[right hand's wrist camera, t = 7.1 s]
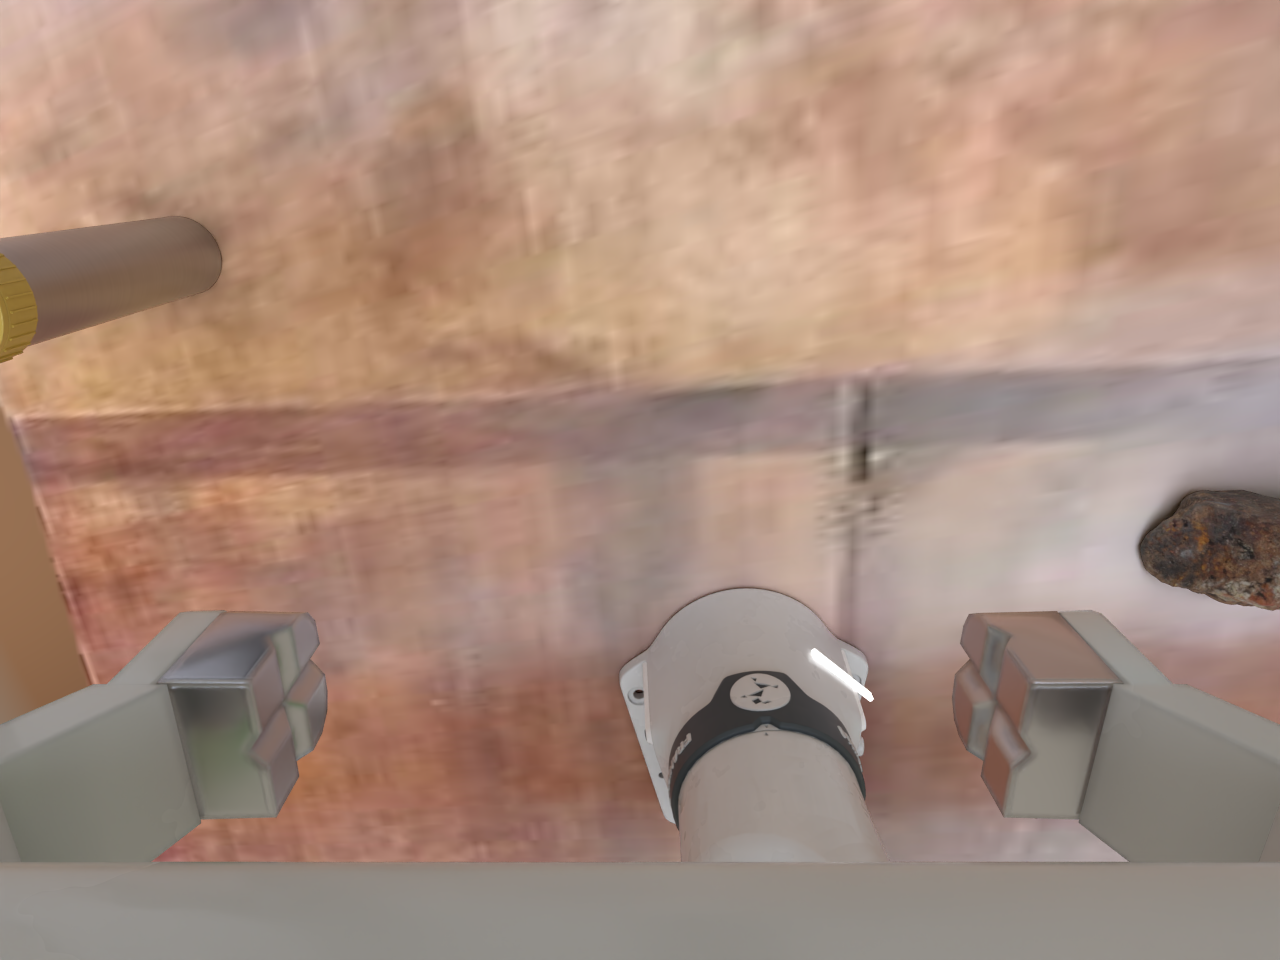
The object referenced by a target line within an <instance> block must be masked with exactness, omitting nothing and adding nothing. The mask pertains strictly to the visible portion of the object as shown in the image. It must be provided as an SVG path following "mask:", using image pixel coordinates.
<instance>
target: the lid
mask: <svg viewBox="0 0 1280 960" xmlns="http://www.w3.org/2000/svg"><path fill="white" fill-rule="evenodd" d="M37 322H38V312H37V305H36V301H35V297H34V294H33V291H32V290H31V287H30V285H29V283H28V282H27V280H26V278H25V277H24V276H23V274H22V273H21V272H20V270H19V269H18V268H17V266H16V265H15V264H13V263H12V262H11V261H10V260H9V259H8V258H6V257H5V256H4V254H2V253H0V363H2V362H5V361H9V360H12V359H13V358H12V357H14V356H16V355H19V354H22V353H23V350H24V349H25V348H26V347H27V346H28V345H30V344H31V343H30V342H31V340H32V338H33V337H34V334H36V332H35V331H36V328H37Z"/></svg>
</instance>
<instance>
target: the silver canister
mask: <svg viewBox="0 0 1280 960" xmlns="http://www.w3.org/2000/svg"><path fill="white" fill-rule="evenodd" d="M0 253H2V254H4V256H5V257H6V258H8V259H9V260H10V261H11V262H12V263H13V264H15V265H16V266H17V268H18V269H19V270H20V272H21V273H22V274H23V276H24V277H25V278H26V280H27V282H28V283H29V285H30V287H31V290H32V291H33V294H34V297H35V301H36V305H37V312H38V322H37V328H36V331H35V332H36V334H34V337H33V338H32V340H31V342H30V343H31V344H30V345H28V346H31V345H34V344H37V343H40V342H43V341H47V340H50V339H53V338H56V337H60V336H63V335H66V334H69V333H73V332H76V331H79V330H82V329H85V328H89V327H92V326H95V325H98V324H102V323H105V322H108V321H111V320H115V319H118V318H121V317H124V316H127V315H131V314H134V313H137V312H140V311H144V310H147V309H150V308H153V307H156V306H160V305H163V304H166V303H169V302H173V301H176V300H179V299H182V298H186V297H189V296H192V295H195V294H198V293H202V292H204V291H206V290H208V289H209V288H210V287H212V286H213V285H214V284H215V282H216V281H217V279H218V277H219V275H220V271H221V265H222V262H221V254H220V250H219V247H218V245H217V243H216V241H215V239H214V238H213V237H212V235H211V234H210V233H209V232H208V231H207V230H206V229H205V228H204V227H203V226H201V225H200V224H199V223H197V222H195V221H193V220H191V219H188V218H185V217H180V216H171V217H163V218H155V219H148V220H140V221H132V222H124V223H116V224H108V225H101V226H93V227H85V228H77V229H69V230H61V231H54V232H46V233H38V234H30V235H22V236H15V237H7V238H0Z"/></svg>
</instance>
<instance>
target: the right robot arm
mask: <svg viewBox="0 0 1280 960" xmlns="http://www.w3.org/2000/svg"><path fill="white" fill-rule="evenodd" d="M319 644H320V642H319V637H318V633H317V628H316V623H315V620H314V619H313V618H312V617H311V615H310V614H309V613H308V612H259V611H228V612H227V611H225V610H211V611H187V612H181V613H179V614H178V615H177V616H176V617H175V618H174V619H173V620H172V621H171V622H170V623H169V624H168V625H167V626H166V627H165V628H164V629H163V630H162V631H161V632H160V633H159V634H158V635H156V636H155V637H154V638H153V639H152V640H151V641H150V642H149V643H148V644H147V645H146V646H145V647H144V648H143V649H142V650H141V651H140V652H139V653H138V654H137V655H136V656H135V657H134V658H133V659H132V660H131V661H130V662H129V663H128V664H127V665H126V666H125V667H124V668H123V669H122V670H121V671H120V672H119V673H118V674H117V675H116V676H115V677H114V678H113V679H112V680H111V681H110V682H109V683H108V684H93V685H91V686H88V687H86V688H84V689H81V690H79V691H77V692H75V693H72V694H70V695H67V696H65V697H63V698H61V699H58V700H56V701H54V702H51V703H49V704H47V705H44V706H42V707H40V708H37V709H35V710H33V711H30V712H28V713H26V714H24V715H21V716H19V717H17V718H14V719H12V720H10V721H7V722H5V723H3V724H0V960H1280V725H1279V724H1277V723H1275V722H1272V721H1270V720H1268V719H1266V718H1263V717H1261V716H1259V715H1256V714H1254V713H1252V712H1249V711H1247V710H1245V709H1242V708H1240V707H1238V706H1236V705H1233V704H1231V703H1229V702H1226V701H1224V700H1222V699H1219V698H1217V697H1215V696H1212V695H1210V694H1208V693H1206V692H1203V691H1201V690H1199V689H1196V688H1194V687H1192V686H1189V685H1187V684H1172V683H1171V682H1170V681H1169V680H1168V679H1167V678H1166V677H1165V676H1164V675H1163V674H1162V673H1161V672H1160V671H1159V670H1158V669H1157V668H1156V667H1155V666H1154V665H1153V664H1152V663H1151V662H1150V661H1149V660H1148V659H1147V658H1146V657H1145V656H1144V655H1143V654H1142V653H1141V652H1140V651H1139V650H1138V649H1137V648H1136V647H1135V646H1134V645H1133V644H1132V643H1131V642H1130V641H1129V640H1128V639H1127V638H1126V637H1125V636H1124V635H1123V634H1122V633H1121V632H1120V631H1119V630H1118V629H1117V628H1116V627H1115V626H1114V625H1113V624H1112V623H1110V622H1109V621H1108V620H1107V619H1106V618H1105V617H1104V616H1103V615H1102V614H1101V613H1098V612H1095V611H1092V610H1078V611H1045V612H1004V613H975V614H969V615H968V617H967V619H966V621H965V624H964V626H963V631H962V637H961V642H960V644H961V646H962V647H963V649H964V650H965V652H966V653H967V655H968V657H969V658H970V659H969V661H968V662H967V663H966V664H965V665H964V666H963V667H962V668H961V669H960V670H959V671H958V672H957V673H956V674H955V679H954V687H953V695H952V702H953V713H954V721H955V724H956V727H957V731H958V734H959V737H960V738H961V740H962V742H963V744H964V746H965V748H966V750H967V751H969V752H970V753H972V754H973V755H975V756H977V757H978V758H980V759H981V760H983V766H982V772H981V777H982V779H983V781H984V783H985V785H986V786H987V788H988V790H989V792H990V793H991V795H992V797H993V799H994V801H995V802H996V804H997V806H998V808H999V810H1000V811H1001V813H1002V815H1003V817H1011V818H1048V819H1079V823H1080V824H1081V825H1082V826H1084V827H1085V828H1086V829H1088V830H1089V831H1090V832H1091V833H1093V834H1094V835H1095V836H1097V837H1098V838H1099V839H1100V840H1102V841H1103V842H1104V843H1106V844H1107V845H1108V846H1110V847H1111V848H1112V849H1113V850H1115V851H1116V852H1117V853H1119V854H1120V855H1121V856H1122V857H1124V858H1125V859H1126V860H1128V861H1129V862H891V861H890V859H889V857H888V855H887V853H886V851H885V849H884V847H883V845H882V842H881V840H880V838H879V836H878V833H877V831H876V829H875V826H874V824H873V822H872V819H871V817H870V814H869V811H868V809H867V806H866V804H865V796H866V793H865V783H864V779H863V775H862V772H863V771H862V766H861V762H860V759H859V756H862V755H863V753H864V740H863V738H862V737H861V732H862V731H864V730H865V729H866V720H865V716H864V713H863V709H862V706H861V703H860V700H861V697H862V696H864V697H865V698H866V699H868V700H869V701H870V702H871V701H872V700H873V697H872V694H871V692H870V691H868V690H867V689H866V688H864V685H865V682H866V678H867V674H868V664H867V660H866V657H865V655H864V654H863V653H862V652H861V651H860V650H858V649H857V648H855V647H853V646H851V645H849V644H847V643H845V642H843V641H841V640H839V639H837V638H836V637H835V636H834V635H833V634H832V633H831V632H830V631H829V630H828V628H827V627H826V626H825V625H824V623H823V622H822V621H821V620H820V618H819V617H818V616H817V615H816V614H815V613H814V612H812V611H811V610H810V609H809V608H807V607H806V606H805V605H803V604H802V603H800V602H798V601H797V600H795V599H793V598H791V597H788V596H786V595H783V594H780V593H777V592H773V591H769V590H763V589H754V588H740V589H731V590H725V591H720V592H716V593H713V594H710V595H707V596H705V597H702V598H700V599H698V600H696V601H694V602H692V603H691V604H689V605H687V606H686V607H684V608H683V609H681V610H680V611H679V612H678V613H677V614H675V615H674V616H673V617H672V618H671V619H670V620H669V621H668V622H667V623H666V625H665V626H664V627H663V628H662V630H661V631H660V633H659V634H658V636H657V637H656V639H655V640H654V642H653V643H652V645H651V646H650V647H649V648H648V649H647V650H646V651H645V652H643V653H641V654H640V655H638V656H637V657H635V658H634V659H632V660H631V661H629V662H628V663H627V664H626V665H624V667H623V668H622V669H621V670H620V673H619V681H620V687H621V690H622V693H623V696H624V699H625V702H626V705H627V708H628V711H629V714H630V717H631V720H632V723H633V726H634V729H635V732H636V735H637V738H638V741H639V744H640V747H641V750H642V753H643V756H644V759H645V762H646V765H647V768H648V771H649V774H650V776H651V779H652V782H653V785H654V788H655V791H656V794H657V797H658V800H659V803H660V806H661V809H662V812H663V814H664V816H665V818H666V819H667V820H668V821H670V822H672V823H674V824H676V826H677V828H678V830H679V834H680V852H681V862H151V861H153V860H154V859H155V858H157V857H158V856H159V855H160V854H162V853H163V852H164V851H166V850H167V849H168V848H169V847H171V846H172V845H173V844H175V843H176V842H177V841H179V840H180V839H181V838H182V837H184V836H185V835H186V834H188V833H189V832H190V831H191V830H193V829H194V828H195V827H197V826H198V825H199V824H201V819H231V818H267V817H277V815H278V813H279V811H280V810H281V808H282V806H283V804H284V802H285V801H286V799H287V797H288V795H289V793H290V792H291V790H292V788H293V786H294V785H295V783H296V781H297V779H298V777H299V772H298V766H297V760H299V759H300V758H302V757H303V756H305V755H307V754H308V753H310V752H311V751H313V750H314V748H315V746H316V744H317V742H318V740H319V738H320V736H321V734H322V731H323V727H324V723H325V718H326V714H327V685H326V679H325V674H324V673H323V672H322V671H321V670H320V669H319V668H318V667H317V666H316V665H315V664H314V663H313V662H312V661H311V660H310V658H311V657H312V655H313V653H314V652H315V650H316V649H317V647H318V646H319ZM636 690H642V691H643V692H642V693H636V692H634V691H636Z"/></svg>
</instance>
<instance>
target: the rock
mask: <svg viewBox="0 0 1280 960" xmlns="http://www.w3.org/2000/svg"><path fill="white" fill-rule="evenodd" d="M1140 550H1141V557H1142V561H1143V562H1144V566H1145V569H1146V570H1147V571H1148V572H1149V573H1150V574H1152V575H1153V576H1155V577H1156V578H1157V579H1158V580H1160V581H1161V582H1163V583H1166V584H1169V585H1171V586H1173V587H1181V588H1187V589H1189V590H1191V591H1193V592H1196V593H1200V594H1206V595H1207V596H1209V597H1211V598H1213V599H1214V600H1217V601H1219V602H1222V603H1225V604H1230V605H1234V604H1238V605H1242V606H1256V607H1259V608H1263V609H1267V610H1272V611H1273V610H1276V609H1280V499H1277V498H1272V497H1267V496H1262V495H1259V494H1256V493H1252V492H1248V491H1244V490H1238V491H1216V492H1212V491H1197V492H1195V493H1192V494H1190V495H1187V496H1186V497H1185V498H1184V499H1183V500H1182V501H1181V503H1180V506H1179V508H1178V509H1177V510H1176V512H1175V513H1174V515H1173V516H1172V517H1170V518H1168V519H1166V520H1164V521H1162V522H1161V523H1160V524H1159V525H1158V526H1157V527H1156V528H1155V529H1153V530H1151V531H1150V532H1149V533H1148V534H1147V535H1146V536H1145V538H1144V540H1143V542H1142V544H1141V546H1140Z"/></svg>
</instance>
